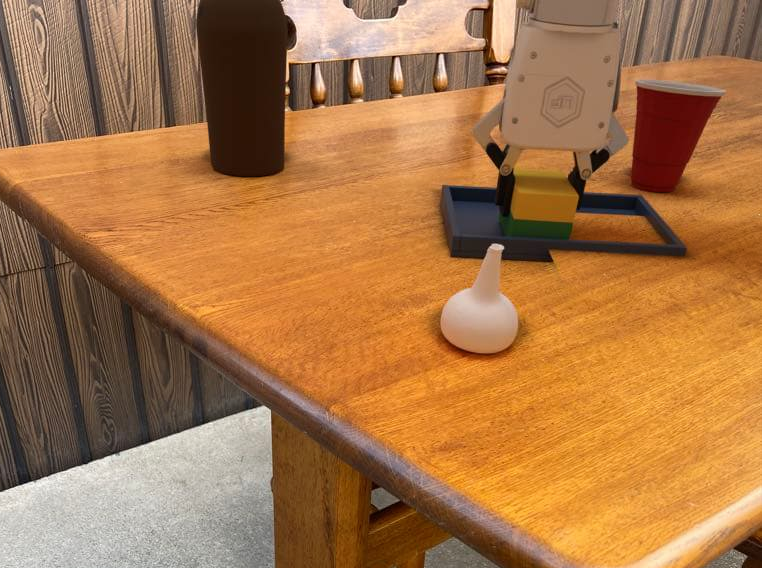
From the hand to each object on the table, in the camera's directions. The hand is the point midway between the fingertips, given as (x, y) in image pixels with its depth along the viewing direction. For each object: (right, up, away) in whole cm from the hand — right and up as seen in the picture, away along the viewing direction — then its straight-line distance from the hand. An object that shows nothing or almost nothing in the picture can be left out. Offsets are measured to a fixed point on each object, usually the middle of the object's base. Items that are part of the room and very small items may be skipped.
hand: (535, 212), depth 82 cm
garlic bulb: (-9, -18, -17) cm, 27 cm away
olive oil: (-33, +14, +19) cm, 41 cm away
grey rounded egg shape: (+17, +31, +43) cm, 55 cm away
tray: (+3, 0, +4) cm, 5 cm away
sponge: (0, -2, +1) cm, 2 cm away
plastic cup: (+20, +12, +21) cm, 31 cm away
